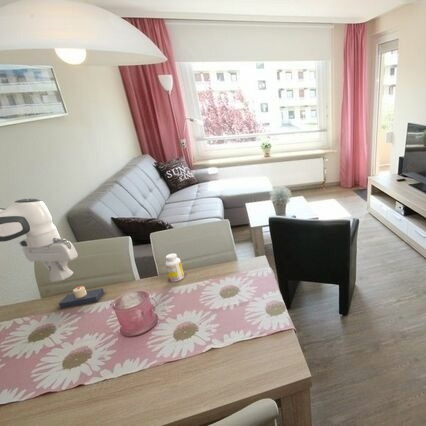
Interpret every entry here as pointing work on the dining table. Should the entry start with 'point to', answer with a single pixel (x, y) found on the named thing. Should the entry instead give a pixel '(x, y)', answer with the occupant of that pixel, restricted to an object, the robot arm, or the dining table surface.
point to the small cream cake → (79, 292)
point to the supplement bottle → (174, 267)
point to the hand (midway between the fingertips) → (58, 269)
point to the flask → (58, 272)
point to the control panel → (82, 298)
